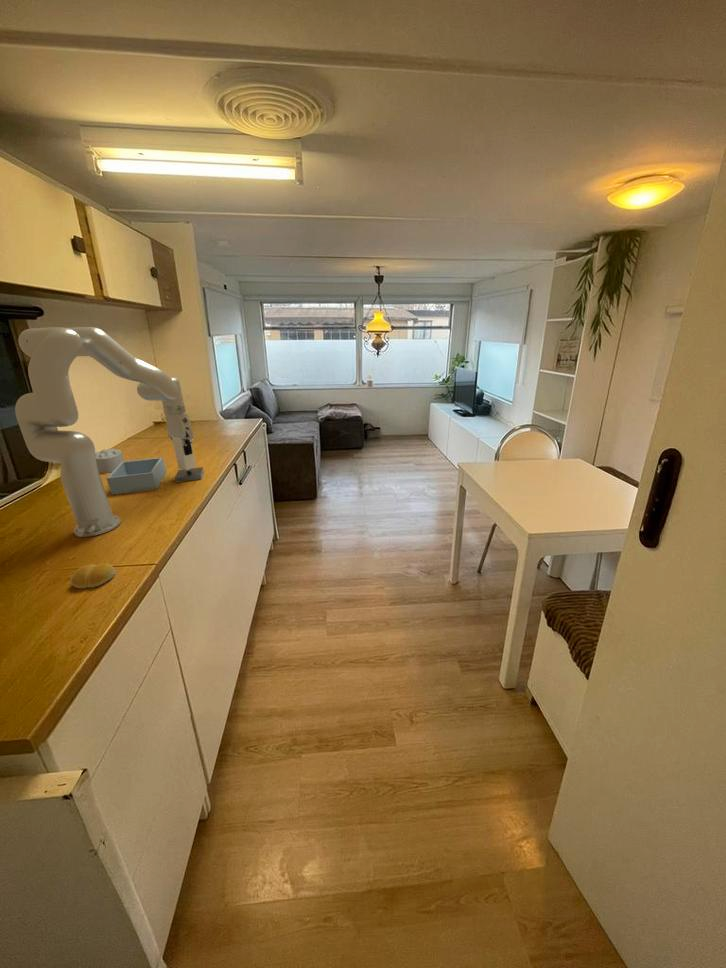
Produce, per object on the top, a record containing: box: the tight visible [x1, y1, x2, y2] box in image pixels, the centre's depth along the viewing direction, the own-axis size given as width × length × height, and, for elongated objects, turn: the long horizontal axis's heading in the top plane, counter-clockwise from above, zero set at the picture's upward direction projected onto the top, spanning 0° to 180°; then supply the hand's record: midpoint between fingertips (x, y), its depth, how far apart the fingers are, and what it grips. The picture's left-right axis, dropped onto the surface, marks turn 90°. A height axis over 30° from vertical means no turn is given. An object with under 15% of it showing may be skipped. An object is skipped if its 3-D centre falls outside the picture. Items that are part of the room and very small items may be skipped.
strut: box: [171, 436, 197, 470], centre depth 155 cm, size 5×5×14 cm
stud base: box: [174, 467, 205, 483], centre depth 158 cm, size 10×10×7 cm
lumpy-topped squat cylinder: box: [95, 448, 125, 474], centre depth 171 cm, size 10×13×9 cm
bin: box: [106, 457, 167, 496], centre depth 154 cm, size 20×16×7 cm
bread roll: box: [69, 562, 116, 589], centre depth 94 cm, size 8×9×4 cm
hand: (184, 453), depth 155 cm, fingers closed on strut, 4 cm apart
